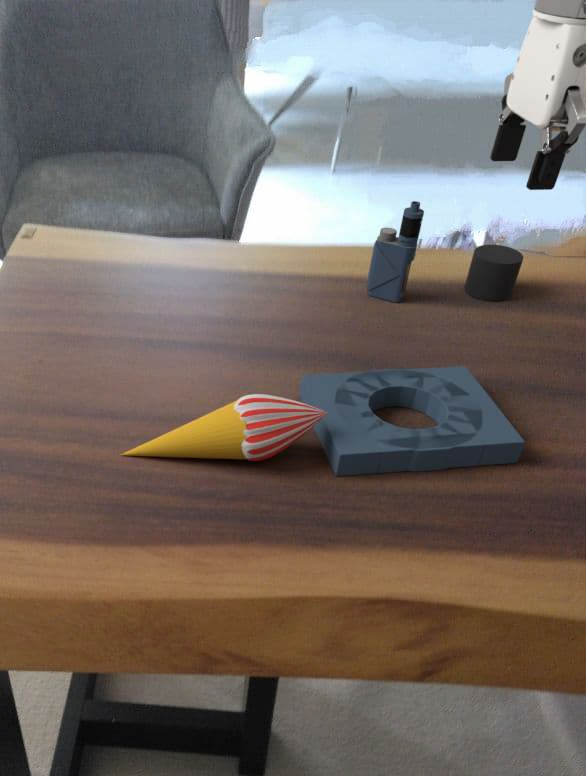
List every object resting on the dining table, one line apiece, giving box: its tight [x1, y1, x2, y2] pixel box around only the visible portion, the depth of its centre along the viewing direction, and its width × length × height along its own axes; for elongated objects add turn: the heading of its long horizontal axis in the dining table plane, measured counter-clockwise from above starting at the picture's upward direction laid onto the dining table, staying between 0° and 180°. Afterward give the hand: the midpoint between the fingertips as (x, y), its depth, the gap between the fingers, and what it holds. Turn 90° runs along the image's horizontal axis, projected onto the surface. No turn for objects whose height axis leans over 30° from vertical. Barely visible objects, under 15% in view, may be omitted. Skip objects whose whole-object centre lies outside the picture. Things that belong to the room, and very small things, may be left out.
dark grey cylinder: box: [463, 244, 524, 302], centre depth 102 cm, size 6×6×5 cm
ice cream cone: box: [120, 393, 328, 462], centre depth 74 cm, size 6×6×20 cm
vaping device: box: [365, 200, 425, 303], centre depth 98 cm, size 3×5×12 cm, turn 58°
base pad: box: [298, 365, 526, 477], centre depth 79 cm, size 18×14×2 cm
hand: (520, 174), depth 94 cm, fingers open, 9 cm apart
